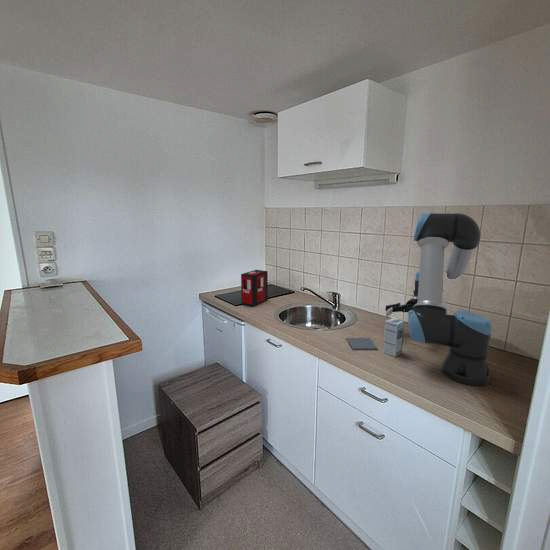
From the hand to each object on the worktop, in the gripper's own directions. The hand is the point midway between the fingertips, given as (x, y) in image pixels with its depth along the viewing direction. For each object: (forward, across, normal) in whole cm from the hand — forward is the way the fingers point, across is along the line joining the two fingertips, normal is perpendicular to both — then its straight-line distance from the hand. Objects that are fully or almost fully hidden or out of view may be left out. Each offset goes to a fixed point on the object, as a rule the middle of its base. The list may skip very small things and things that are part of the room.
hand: (402, 317), depth 136 cm
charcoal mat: (+11, +13, -13) cm, 22 cm away
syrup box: (+10, 0, -13) cm, 17 cm away
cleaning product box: (-4, +93, -14) cm, 94 cm away
